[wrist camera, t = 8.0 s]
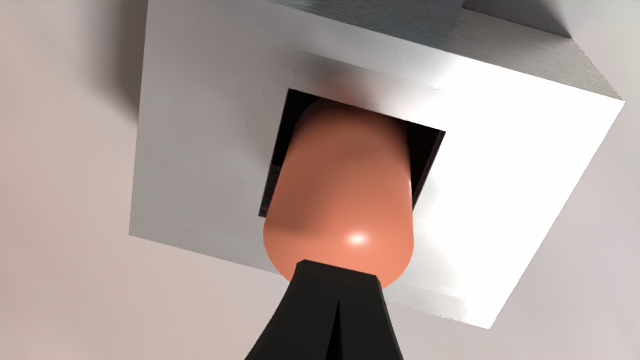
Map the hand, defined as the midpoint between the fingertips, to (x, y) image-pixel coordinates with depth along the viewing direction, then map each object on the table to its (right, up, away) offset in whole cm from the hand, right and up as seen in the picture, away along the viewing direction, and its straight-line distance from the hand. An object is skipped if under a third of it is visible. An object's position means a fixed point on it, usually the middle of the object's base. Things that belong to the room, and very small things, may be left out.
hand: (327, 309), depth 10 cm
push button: (+1, +3, +5) cm, 6 cm away
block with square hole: (+1, +4, +7) cm, 8 cm away
